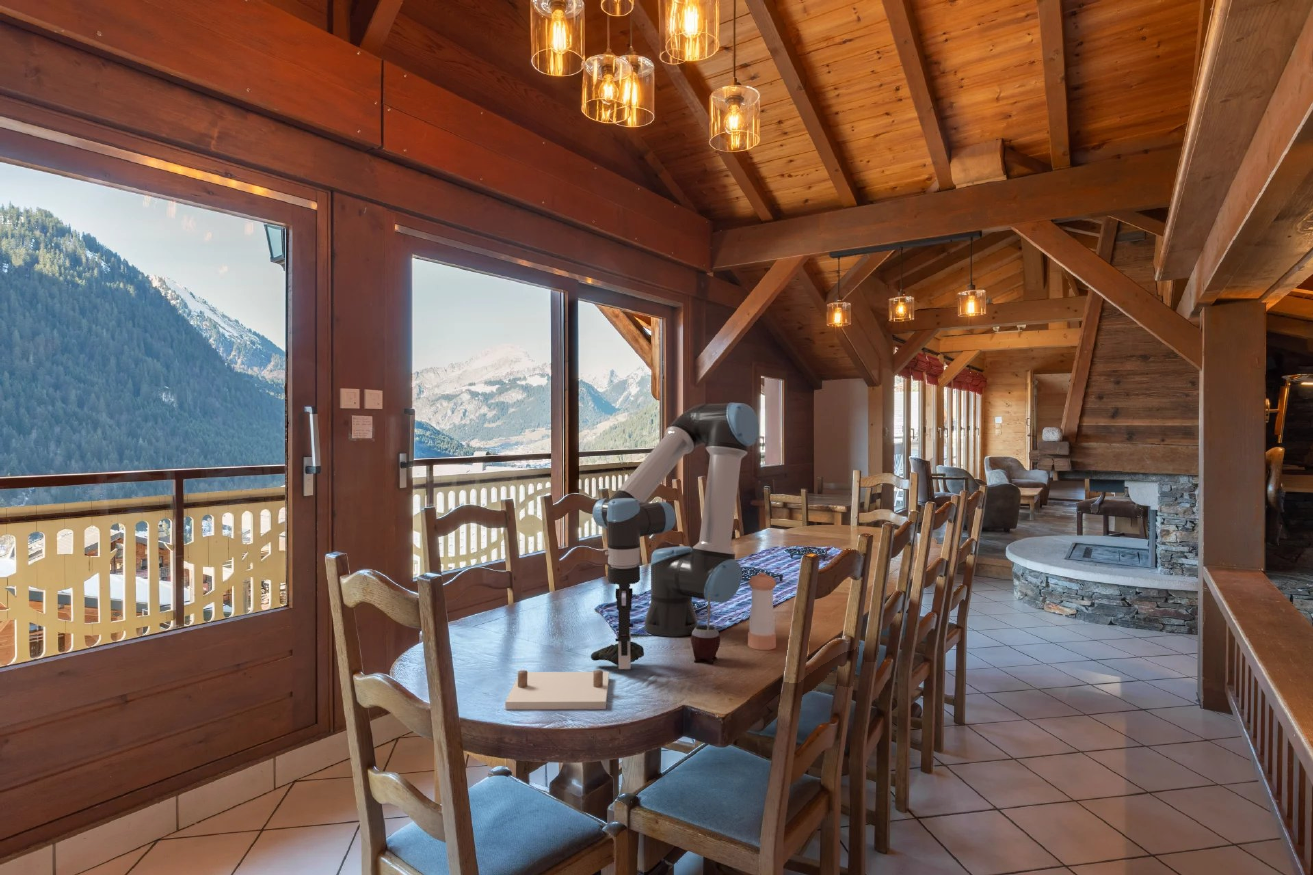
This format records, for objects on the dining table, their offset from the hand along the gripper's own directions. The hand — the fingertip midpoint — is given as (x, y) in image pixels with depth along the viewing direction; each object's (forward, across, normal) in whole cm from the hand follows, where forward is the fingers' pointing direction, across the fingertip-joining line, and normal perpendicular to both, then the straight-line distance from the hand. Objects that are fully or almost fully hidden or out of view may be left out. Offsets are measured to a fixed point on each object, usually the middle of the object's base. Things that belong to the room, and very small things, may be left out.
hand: (624, 661), depth 160 cm
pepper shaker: (+3, -18, +36) cm, 40 cm away
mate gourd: (+2, -6, +20) cm, 21 cm away
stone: (+1, 0, -2) cm, 2 cm away
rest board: (+1, +14, -14) cm, 20 cm away
